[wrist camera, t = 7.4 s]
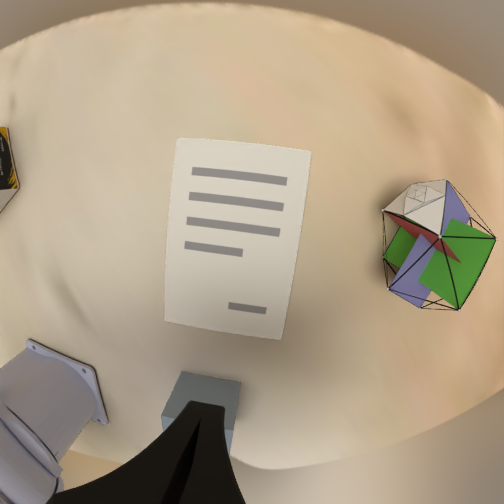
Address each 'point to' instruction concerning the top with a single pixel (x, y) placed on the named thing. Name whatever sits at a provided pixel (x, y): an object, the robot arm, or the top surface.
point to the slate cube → (203, 399)
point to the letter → (233, 235)
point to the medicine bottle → (6, 170)
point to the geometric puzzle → (435, 245)
